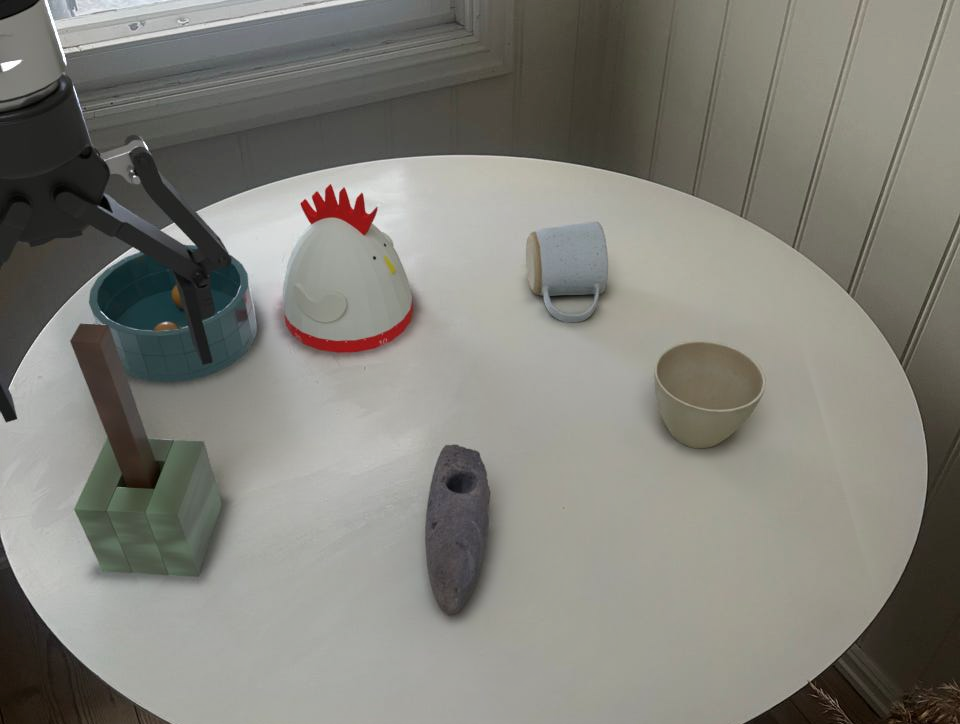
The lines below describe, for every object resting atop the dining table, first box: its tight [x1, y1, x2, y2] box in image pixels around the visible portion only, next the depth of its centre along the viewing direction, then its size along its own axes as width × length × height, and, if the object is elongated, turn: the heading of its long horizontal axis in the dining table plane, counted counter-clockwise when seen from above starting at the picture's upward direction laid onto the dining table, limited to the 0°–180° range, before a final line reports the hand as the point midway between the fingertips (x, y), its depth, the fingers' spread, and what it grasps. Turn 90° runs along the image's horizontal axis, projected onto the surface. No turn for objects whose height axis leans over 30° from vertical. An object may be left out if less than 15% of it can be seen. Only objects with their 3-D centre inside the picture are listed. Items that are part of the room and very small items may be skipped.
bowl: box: [88, 244, 258, 383], centre depth 96 cm, size 16×16×6 cm
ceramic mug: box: [525, 221, 609, 323], centre depth 101 cm, size 11×8×8 cm
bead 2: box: [172, 284, 183, 309], centre depth 98 cm, size 3×3×3 cm
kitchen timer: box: [281, 183, 414, 354], centre depth 95 cm, size 14×14×15 cm
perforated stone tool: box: [424, 444, 491, 617], centre depth 75 cm, size 15×5×7 cm, turn 175°
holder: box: [73, 436, 223, 578], centre depth 76 cm, size 8×8×8 cm
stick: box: [69, 322, 160, 489], centre depth 71 cm, size 2×2×22 cm
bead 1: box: [153, 321, 180, 331], centre depth 94 cm, size 3×3×3 cm
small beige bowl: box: [653, 340, 767, 449], centre depth 86 cm, size 10×10×7 cm
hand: (109, 380), depth 66 cm, fingers open, 13 cm apart
